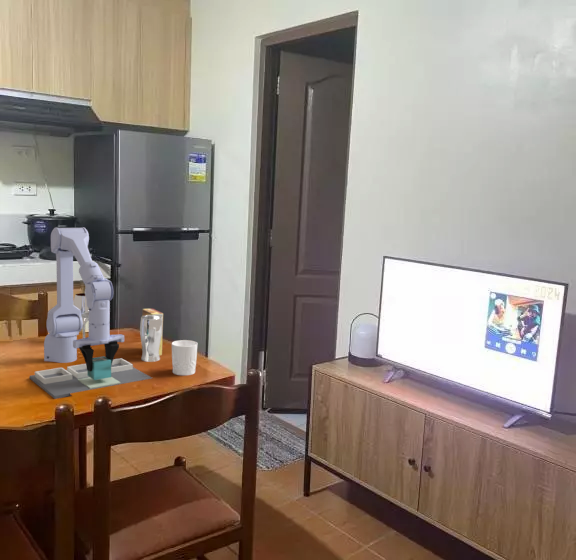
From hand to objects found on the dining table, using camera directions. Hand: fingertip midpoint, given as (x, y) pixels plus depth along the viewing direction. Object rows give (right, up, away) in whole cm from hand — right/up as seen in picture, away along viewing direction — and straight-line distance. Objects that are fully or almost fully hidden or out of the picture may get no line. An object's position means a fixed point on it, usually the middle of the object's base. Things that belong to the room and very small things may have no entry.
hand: (99, 368), depth 175 cm
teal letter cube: (0, -2, 0) cm, 2 cm away
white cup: (+22, -4, +14) cm, 26 cm away
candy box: (+8, 0, +34) cm, 34 cm away
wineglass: (-19, +3, +42) cm, 46 cm away
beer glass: (+9, -1, +26) cm, 27 cm away
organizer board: (-4, -4, +5) cm, 7 cm away
